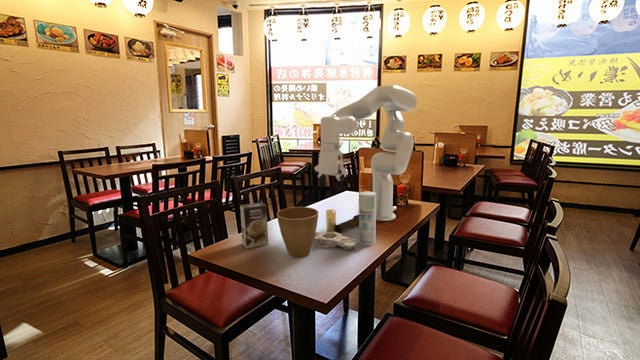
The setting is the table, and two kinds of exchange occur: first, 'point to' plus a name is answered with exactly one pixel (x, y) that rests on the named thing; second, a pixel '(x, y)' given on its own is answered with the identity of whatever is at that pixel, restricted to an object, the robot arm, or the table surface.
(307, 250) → the plant pot
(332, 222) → the brass pin
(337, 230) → the brown wooden stick
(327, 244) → the two-arm fidget spinner
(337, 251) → the table surface
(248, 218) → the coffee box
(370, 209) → the spray can
